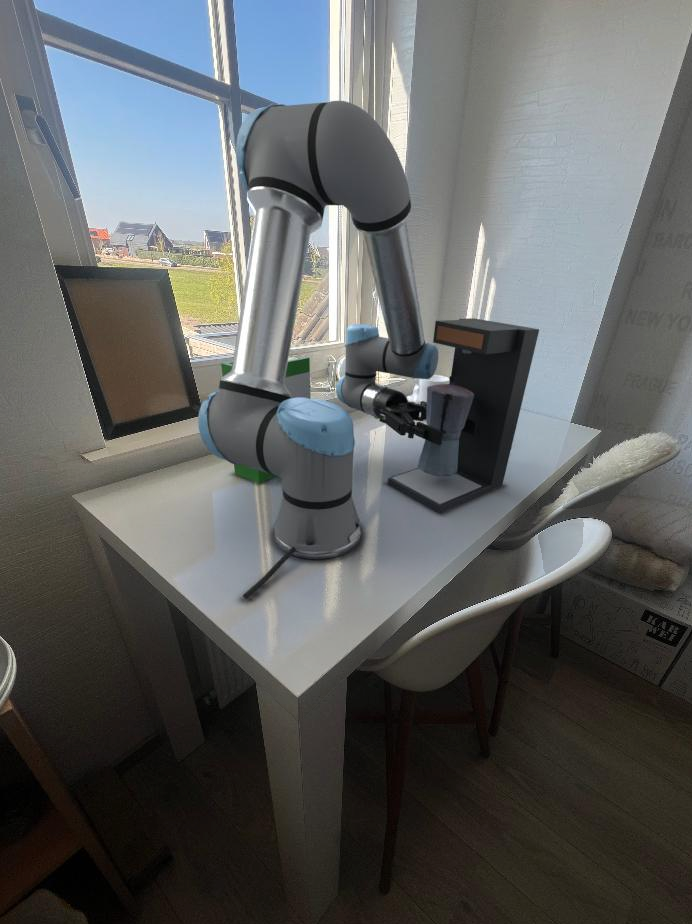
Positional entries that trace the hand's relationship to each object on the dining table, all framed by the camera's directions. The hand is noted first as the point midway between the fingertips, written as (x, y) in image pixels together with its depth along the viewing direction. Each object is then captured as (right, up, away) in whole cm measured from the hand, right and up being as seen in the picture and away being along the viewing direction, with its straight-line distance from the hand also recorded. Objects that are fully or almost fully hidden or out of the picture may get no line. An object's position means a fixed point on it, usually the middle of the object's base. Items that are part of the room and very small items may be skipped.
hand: (459, 433), depth 84 cm
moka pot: (-3, -7, +8) cm, 11 cm away
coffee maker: (-1, -10, +12) cm, 16 cm away
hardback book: (-41, -5, +15) cm, 44 cm away
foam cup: (0, +15, +55) cm, 57 cm away
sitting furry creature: (-3, +22, +66) cm, 70 cm away
